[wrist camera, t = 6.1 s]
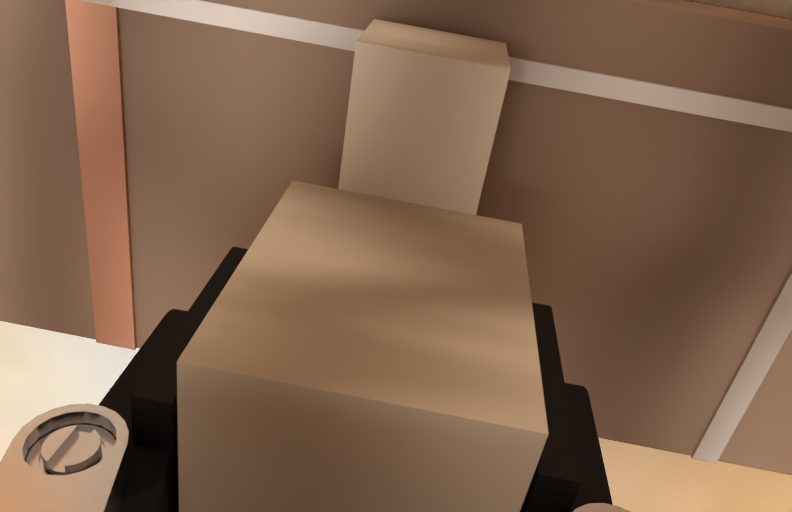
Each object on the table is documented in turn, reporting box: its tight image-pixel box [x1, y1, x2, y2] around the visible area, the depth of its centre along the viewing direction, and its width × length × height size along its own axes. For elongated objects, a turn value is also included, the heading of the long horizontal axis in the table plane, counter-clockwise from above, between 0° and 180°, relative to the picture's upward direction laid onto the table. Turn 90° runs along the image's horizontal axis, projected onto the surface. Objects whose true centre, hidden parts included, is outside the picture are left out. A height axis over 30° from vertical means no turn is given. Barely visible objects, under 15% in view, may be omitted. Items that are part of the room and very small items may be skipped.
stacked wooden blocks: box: [177, 19, 549, 512], centre depth 12 cm, size 4×11×9 cm, turn 171°
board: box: [0, 0, 792, 475], centre depth 15 cm, size 21×10×2 cm, turn 81°
